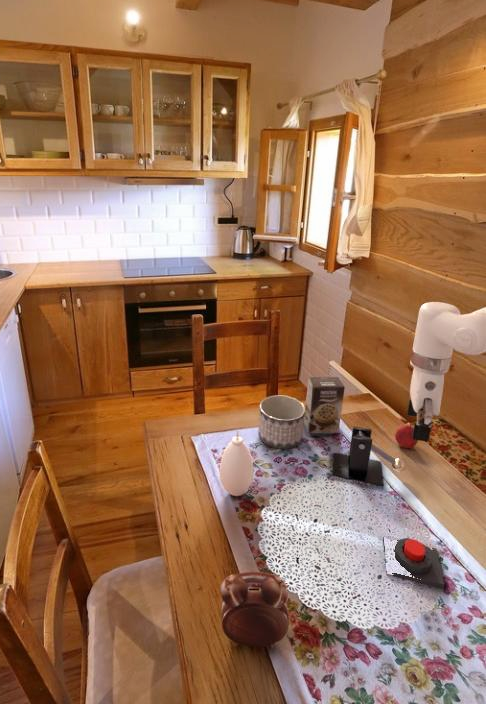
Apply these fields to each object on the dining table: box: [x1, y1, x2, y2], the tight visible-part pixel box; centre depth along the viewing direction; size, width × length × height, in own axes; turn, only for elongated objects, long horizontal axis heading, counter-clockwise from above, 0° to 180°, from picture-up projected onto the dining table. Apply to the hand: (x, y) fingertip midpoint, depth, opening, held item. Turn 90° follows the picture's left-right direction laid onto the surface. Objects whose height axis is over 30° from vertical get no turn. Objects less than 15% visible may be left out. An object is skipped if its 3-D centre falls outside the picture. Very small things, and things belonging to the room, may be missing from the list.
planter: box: [257, 394, 305, 450], centre depth 116 cm, size 13×13×10 cm
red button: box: [404, 539, 425, 562], centre depth 79 cm, size 4×4×2 cm
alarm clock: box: [220, 571, 289, 648], centre depth 65 cm, size 11×5×15 cm, turn 88°
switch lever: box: [355, 431, 407, 473], centre depth 101 cm, size 14×3×3 cm, turn 73°
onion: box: [394, 422, 419, 449], centre depth 112 cm, size 6×6×8 cm
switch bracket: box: [331, 426, 384, 487], centre depth 103 cm, size 12×9×12 cm
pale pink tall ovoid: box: [219, 429, 255, 497], centre depth 95 cm, size 8×8×18 cm
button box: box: [382, 537, 445, 590], centre depth 80 cm, size 10×8×3 cm
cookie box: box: [304, 376, 346, 434], centre depth 119 cm, size 9×6×16 cm
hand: (417, 427), depth 93 cm, fingers open, 9 cm apart
